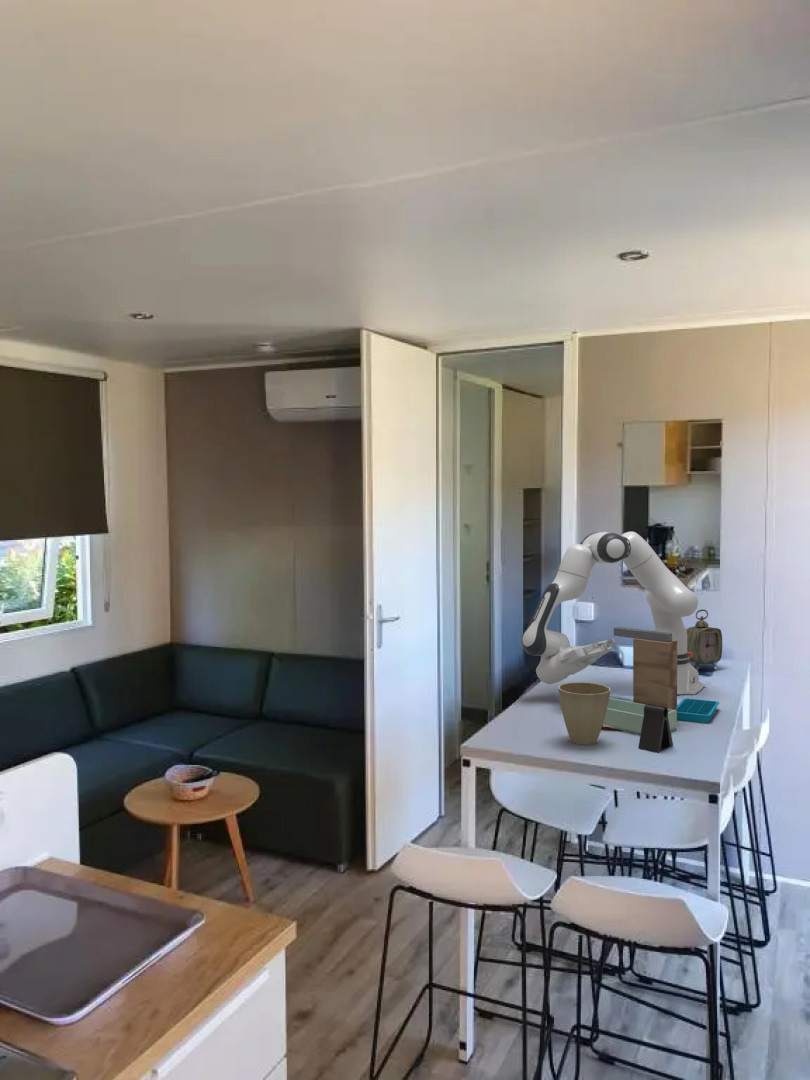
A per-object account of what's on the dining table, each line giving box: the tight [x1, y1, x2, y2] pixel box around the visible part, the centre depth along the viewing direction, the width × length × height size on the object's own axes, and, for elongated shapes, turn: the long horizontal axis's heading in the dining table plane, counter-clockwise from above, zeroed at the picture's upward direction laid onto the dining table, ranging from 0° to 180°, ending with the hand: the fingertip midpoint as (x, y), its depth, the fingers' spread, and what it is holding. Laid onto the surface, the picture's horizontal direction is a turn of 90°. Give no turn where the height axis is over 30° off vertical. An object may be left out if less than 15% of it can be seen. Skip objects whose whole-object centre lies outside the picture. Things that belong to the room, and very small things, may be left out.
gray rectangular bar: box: [613, 626, 672, 642], centre depth 267 cm, size 3×19×2 cm, turn 45°
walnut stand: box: [632, 638, 678, 710], centre depth 265 cm, size 6×12×26 cm, turn 45°
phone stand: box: [637, 704, 674, 754], centre depth 238 cm, size 9×6×12 cm, turn 134°
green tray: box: [603, 697, 678, 736], centre depth 261 cm, size 13×28×6 cm, turn 45°
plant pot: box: [557, 681, 611, 746], centre depth 244 cm, size 15×15×16 cm
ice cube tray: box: [677, 697, 720, 724], centre depth 273 cm, size 12×20×3 cm, turn 151°
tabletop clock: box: [686, 608, 723, 671], centre depth 339 cm, size 14×9×25 cm, turn 119°
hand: (605, 642), depth 277 cm, fingers open, 8 cm apart
